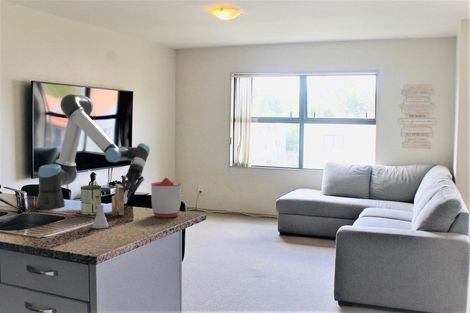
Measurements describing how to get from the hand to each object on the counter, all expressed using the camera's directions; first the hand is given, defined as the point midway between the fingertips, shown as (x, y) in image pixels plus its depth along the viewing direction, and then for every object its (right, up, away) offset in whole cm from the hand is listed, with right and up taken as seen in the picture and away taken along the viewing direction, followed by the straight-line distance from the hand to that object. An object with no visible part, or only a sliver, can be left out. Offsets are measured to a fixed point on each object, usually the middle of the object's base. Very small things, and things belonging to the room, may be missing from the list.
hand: (123, 202), depth 240 cm
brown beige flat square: (-2, -5, 0) cm, 6 cm away
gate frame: (-5, -6, +3) cm, 9 cm away
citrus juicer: (+23, -7, -2) cm, 24 cm away
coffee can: (-18, -6, +3) cm, 19 cm away
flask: (-3, -9, -30) cm, 31 cm away
